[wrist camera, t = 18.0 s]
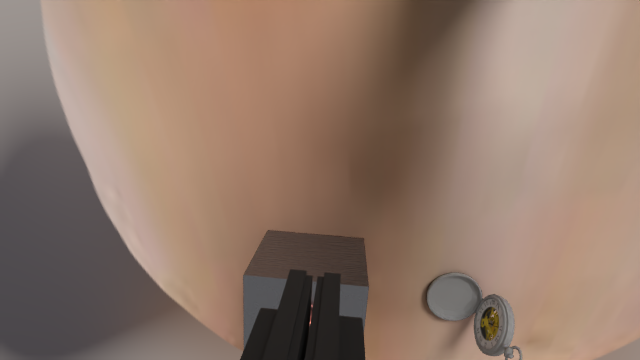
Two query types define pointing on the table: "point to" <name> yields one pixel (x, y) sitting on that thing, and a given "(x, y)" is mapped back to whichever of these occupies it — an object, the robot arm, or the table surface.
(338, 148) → the table surface
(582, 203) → the table surface
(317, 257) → the block
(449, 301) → the pocket watch
